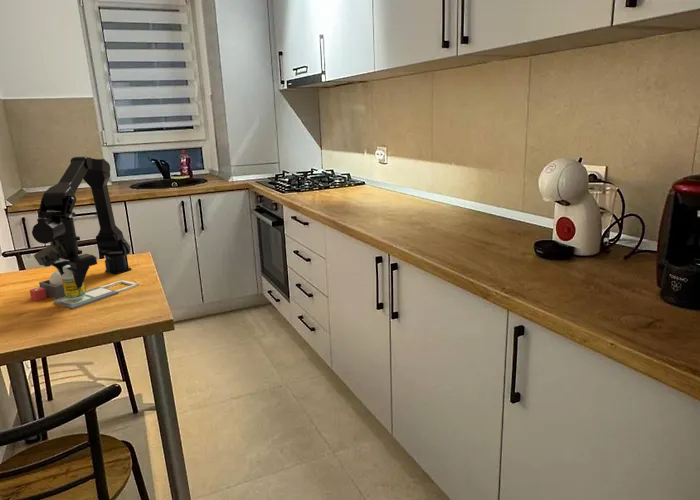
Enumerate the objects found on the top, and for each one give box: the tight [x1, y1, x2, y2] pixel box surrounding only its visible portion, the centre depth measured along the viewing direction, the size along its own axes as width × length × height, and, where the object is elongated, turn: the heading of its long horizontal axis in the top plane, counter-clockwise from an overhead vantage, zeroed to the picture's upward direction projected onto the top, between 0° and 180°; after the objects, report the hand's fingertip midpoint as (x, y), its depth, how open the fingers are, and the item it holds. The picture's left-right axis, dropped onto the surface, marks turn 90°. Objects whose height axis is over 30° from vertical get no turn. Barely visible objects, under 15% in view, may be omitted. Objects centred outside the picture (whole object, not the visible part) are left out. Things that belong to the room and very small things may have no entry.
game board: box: [53, 279, 140, 310], centre depth 157 cm, size 22×10×1 cm, turn 148°
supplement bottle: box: [62, 265, 86, 300], centre depth 150 cm, size 5×5×10 cm
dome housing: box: [29, 279, 87, 302], centre depth 158 cm, size 13×9×4 cm
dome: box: [48, 269, 63, 286], centre depth 159 cm, size 7×7×6 cm
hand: (73, 285), depth 150 cm, fingers open, 5 cm apart
